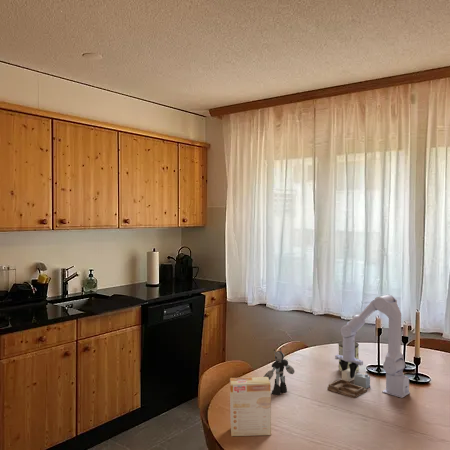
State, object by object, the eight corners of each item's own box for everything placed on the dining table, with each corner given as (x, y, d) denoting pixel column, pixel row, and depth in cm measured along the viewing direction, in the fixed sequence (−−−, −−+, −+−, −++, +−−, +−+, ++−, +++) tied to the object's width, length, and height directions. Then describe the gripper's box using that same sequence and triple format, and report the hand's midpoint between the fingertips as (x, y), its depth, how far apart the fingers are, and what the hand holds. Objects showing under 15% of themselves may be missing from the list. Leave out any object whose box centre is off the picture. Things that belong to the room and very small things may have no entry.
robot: (267, 399, 198) (267, 354, 198) (260, 396, 202) (259, 352, 201) (298, 388, 210) (297, 346, 210) (290, 385, 214) (290, 344, 214)
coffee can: (337, 366, 241) (336, 340, 240) (356, 367, 240) (356, 340, 239) (340, 373, 230) (340, 346, 230) (360, 373, 229) (360, 346, 229)
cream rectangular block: (356, 378, 223) (356, 369, 223) (347, 382, 217) (347, 373, 217) (350, 376, 225) (350, 367, 225) (341, 380, 220) (341, 371, 220)
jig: (367, 391, 206) (367, 386, 206) (354, 398, 198) (354, 393, 198) (340, 383, 216) (340, 378, 216) (327, 389, 209) (327, 384, 209)
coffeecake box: (269, 426, 172) (268, 376, 172) (271, 435, 165) (271, 383, 165) (230, 427, 172) (229, 377, 171) (231, 436, 164) (230, 384, 164)
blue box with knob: (370, 386, 212) (370, 373, 212) (365, 388, 209) (365, 375, 209) (358, 383, 216) (358, 370, 216) (354, 385, 214) (354, 372, 213)
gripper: (366, 350, 218) (366, 378, 219) (340, 344, 229) (340, 371, 229) (358, 353, 214) (358, 381, 214) (332, 347, 224) (332, 374, 224)
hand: (348, 376), depth 221 cm, fingers closed on cream rectangular block, 3 cm apart
